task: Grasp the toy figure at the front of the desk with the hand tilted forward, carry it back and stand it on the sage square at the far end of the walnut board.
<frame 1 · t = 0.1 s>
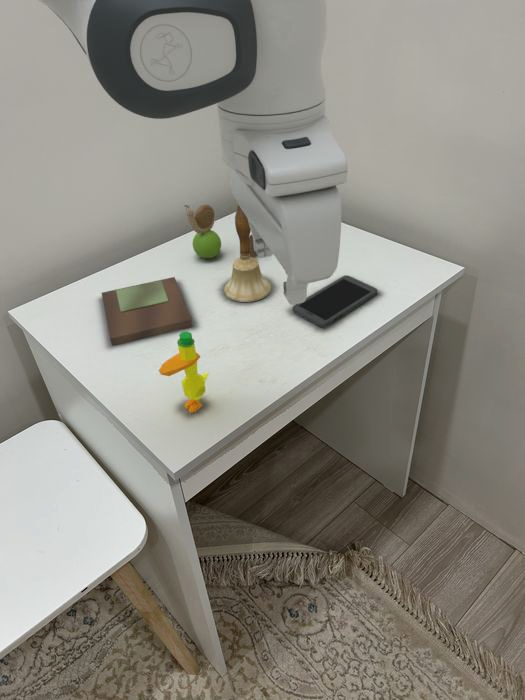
hand: (278, 275, 55), 23 cm above the table, tool pointing down, fingers open, 8 cm apart
snail figurine: (206, 258, 105), on the table
hand bell: (247, 290, 96), on the table
cell phone: (335, 302, 91), on the table
wood plank: (275, 244, 108), on the table
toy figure: (192, 408, 74), on the table
board: (146, 312, 92), on the table
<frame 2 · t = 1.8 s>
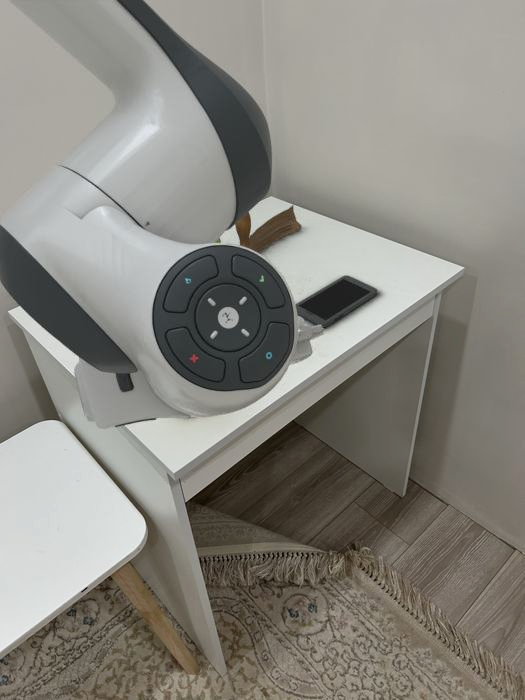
hand: (192, 374, 54), 16 cm above the table, tool tilted 45°, fingers open, 8 cm apart
nothing on the table moved.
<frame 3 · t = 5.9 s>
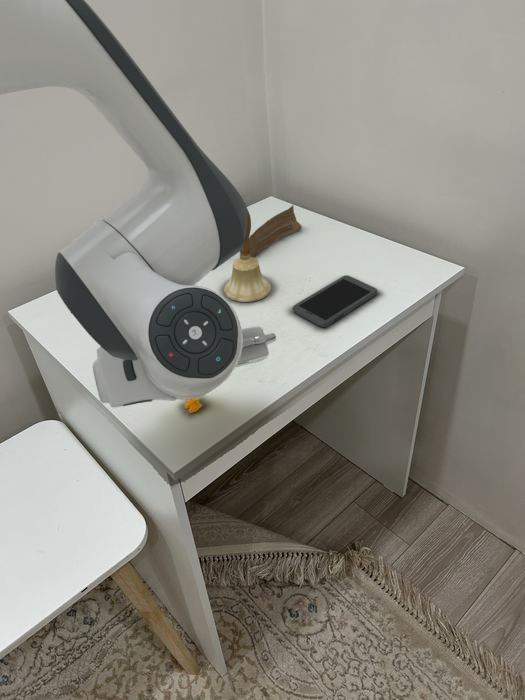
hand: (181, 369, 70), 6 cm above the table, tool tilted 45°, fingers closed on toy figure, 5 cm apart
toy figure: (192, 408, 74), on the table, touching gripper
everything else where it was.
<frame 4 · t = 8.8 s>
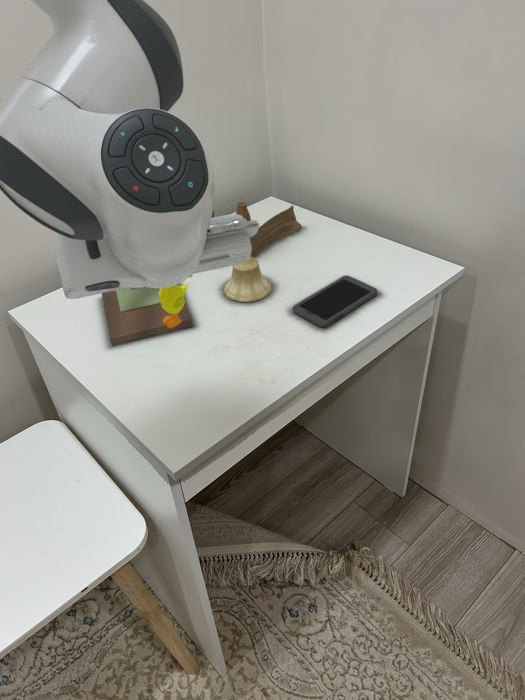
hand: (157, 277, 65), 19 cm above the table, tool tilted 45°, fingers closed on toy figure, 5 cm apart
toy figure: (171, 324, 68), point 12 cm above the table, touching gripper
everything else where it was.
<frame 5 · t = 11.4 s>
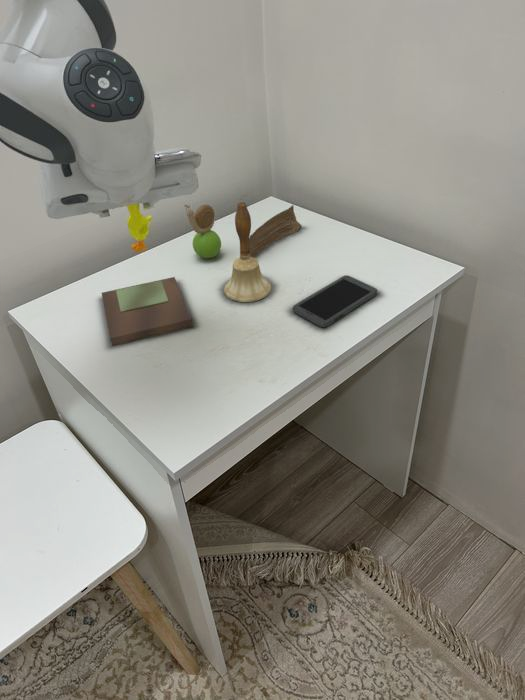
hand: (125, 208, 79), 19 cm above the table, tool tilted 45°, fingers closed on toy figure, 5 cm apart
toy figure: (139, 250, 82), point 13 cm above the table, touching gripper
everything else where it was.
when the fingers open (8 cm above the table, at t = 15.7 s): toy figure stays where it is, resting on board.
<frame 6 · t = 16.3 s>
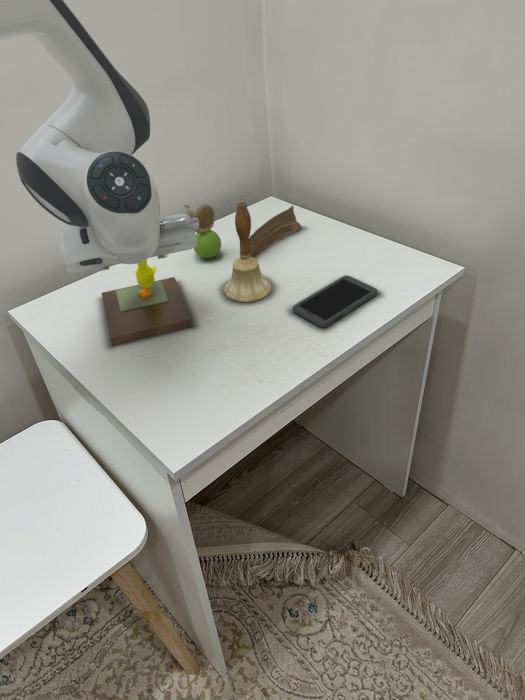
hand: (133, 259, 89), 8 cm above the table, tool tilted 45°, fingers open, 8 cm apart
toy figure: (145, 295, 93), point 1 cm above the table, touching board
everything else where it was.
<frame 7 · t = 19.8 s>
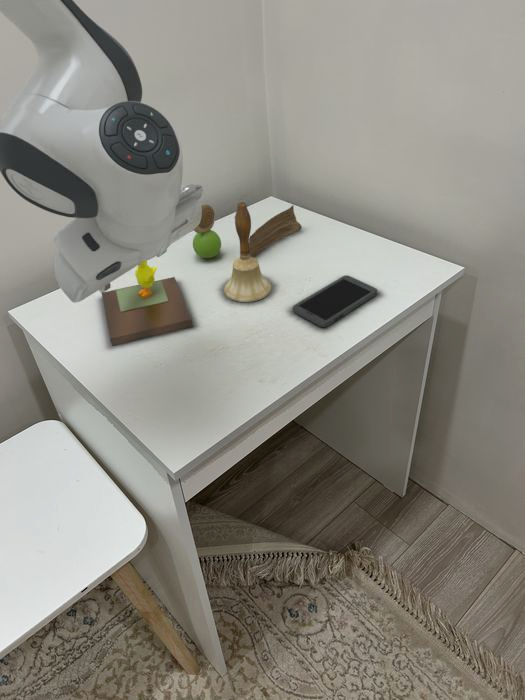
hand: (130, 268, 75), 14 cm above the table, tool tilted 40°, fingers open, 8 cm apart
nothing on the table moved.
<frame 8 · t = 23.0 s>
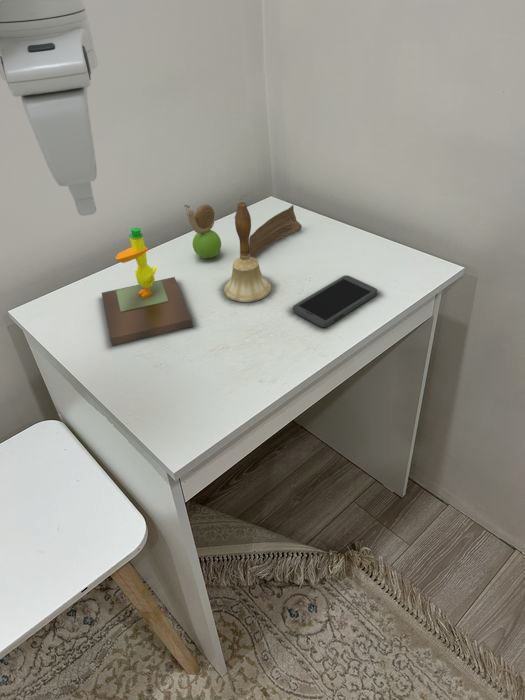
hand: (84, 194, 59), 29 cm above the table, tool pointing down, fingers open, 8 cm apart
nothing on the table moved.
at the end: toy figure inside the target area on the board (0.6 cm from its centre), point 1.5 cm above the board's base; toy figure tilted 0°; the gripper is holding nothing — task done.
